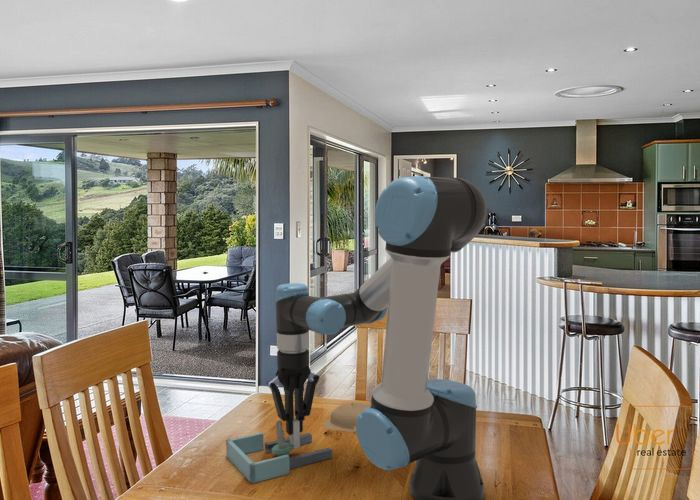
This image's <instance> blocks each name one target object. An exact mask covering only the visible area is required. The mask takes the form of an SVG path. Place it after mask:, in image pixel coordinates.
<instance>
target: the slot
mask: <svg viewBox="0 0 700 500" xmlns="http://www.w3.org/2000/svg"><path fill="white" fill-rule="evenodd" d="M284 438H285V439H284V440H285V443H290V436H289V437H284ZM312 443H313V434H312V433H310V432H306V433H302V434H300V446H304V445H308V444H312ZM277 444H278V439H276V440H272V441H269V442H265V443H264V451H265V453H267V454H270V453H272V448H273V447H274V446H275V445H277ZM330 459H333V449H332V448H330V447H325V448H321V449H317V450H313V451H309V452H306V453H301V454H297V455H294V456H289V469H294V468H298V467H304V466H306V465H311V464H314V463H318V462H322V461H326V460H330Z"/></svg>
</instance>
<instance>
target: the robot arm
mask: <svg viewBox="0 0 700 500" xmlns="http://www.w3.org/2000/svg"><path fill="white" fill-rule="evenodd" d="M487 213H488V207H487V202H486V198H485V197H484V195H483V193H482V191H481V190H480V188H479V187H478V186H476V185H475V184H474V183H473V182H472V181H469V180H467V179H465V178H461V177H441V176H439V177H438V176H437V177H436V176H423V175H413V176H404V177H399V178H397V179H394V180H392V181H391V182H389V184H388V185H387V186H386V187H385V188H384V189H383V190H382V191H381V193H380V195H379V197H378V199H377V201H376V205H375V208H374V224H375V227H376V228H377V229H378V230H377V233H378V235H379V237H380V238H381V239H382V240H383V241H384V242H385V249H384V250H385V252H386V253H387V254H388V255H389V256H390V258H389V259H387V260H386V262H384V263H383V264H382V265H381V266H380V267H379V268H378V269H377V270H376V271H375V272H374V273H373V274H372V275H371V276H370V277H369V278H368V279H367V280H366V281H365V282H364V283H363V284H362V285H360V287H358V288H357V289H356V290H355V291H354V292H350V293H342V294H337V295H335V294H334V295H328V296H320V297H317V296H312V295H309V294H310V293H309V288H308V285H306V284H305V283H299V282H297V283H296V282H295V283H294V282H293V283H291V282H290V283H282V284H280V285H278V286H277V287H276V293H275V302H274V303H275V316H276V317H275V318H276V319H275V321H276V348H277V352H276V361H277V363H276V366H277V370H276V372H275V377H274V378H273V379H272V380H268V381H267V382H266V386H267V387H268V388H269V389H270V391H271V395H272V399H273V402H274V405H275V410H276V414H277V417H278V418H279V419H280V421H281V420H282V421H283V422H285V432H286V434H287V435H289V437H290V444H292V445H293V449H294V450H296V449H300V448H301V445H300V435H301V433H303V431H304V426H303V425H304V423H303V422H304V421H305V419H306V418H305V417H309V416H310V415H311V411H312V408H313V407H312V406H313V401H314V396H315V392H316V387H317V384H318V382H319V380H320V376H319V375H318V374H317V373H315V372H311V368H310V351H309V349H308V348H310V339H309V338H310V337H309V334H310V332H309V331H311V332H314V333H316V334H319V335H327V336H333V335H336V334H337V333H338V332H339V331H341V330H342V329H343V328H348V327H353V326H360V325H366V324H373V323H375V322H378V321H381V320H382V319H384V318H385V317H386V315H387V317H386V328H385V336H384V337H385V338H384V349H383V359H382V360H383V361H382V369H381V377H380V378H381V379H380V383H378V384H377V385H376V386H374V387H373V389H372V390H371V400H370V402H371V407H370V408H366V409H364V410H363V411H362V413H360V414H359V416H358V418H357V421H356V433H357V434H356V437H357V440H358V444H359V446H360V448H361V449H362V452H363V453H364V454H365V456H366V458H367V459H368V460H369V461H370V462H371V463H372V464H373V465H374V466H376V467H377V468H379V469H382V470H384V471H393V470H396V469H400V468H405V467H406V466H408V465H410V464H411V463H415V464H414V469H413V471H412V474H411V475H410V479H409V493H410V496H411V497H412V498H413V499H414V500H484V497H485V484H484V480H483V478H482V475H481V470H480V468H479V465H478V461H477V459H476V448H477V445H476V442H477V441H476V439H477V438H476V437H477V436H476V435H477V434H476V432H477V431H476V429H477V408H478V406H477V399H476V392H475V390H474V389H473V388H472V387H471V386H470V385H467V384H466V383H463V382H459V381H455V380H450V379H442V378H429V371H430V364H431V363H430V362H431V353H432V346H433V337H434V336H433V335H434V328H435V327H434V325H435V317H436V309H437V300H438V299H437V298H438V290H439V283H440V282H439V281H440V275H441V274H440V273H441V266H442V265H443V263H444V262H445V261H447V260H448V259H449V258H450V257H451V253H453V254H454V253H457V252H459V251H461V250H462V249H463V248H464V247H466V246H467V245H468V244H469V243H470V242H471V241H472V240H473V239H475V238H476V237H477V235H478V234H479V233H480V232H481V231H482V228H483V227H484V226H485V222H486V219H487ZM280 384H281V386H283V392H284V402H283V399H282V395H281V391H280V389H279V388H280ZM305 384H306V386H305Z"/></svg>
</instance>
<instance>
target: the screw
mask: <svg viewBox="0 0 700 500" xmlns="http://www.w3.org/2000/svg"><path fill="white" fill-rule="evenodd" d="M275 427H276V437H277V439H276V440H278V444H277V445H275V446H274V447H273V448H272V452H271V453H272V454H274V455H276V457H279V456H283V455H289V456H290V452H291V451H293V449H294V448H293V445H292V444H290V443H285V440H284V439H285V438H286V437H285V432H284V430H283V424H282V421H281V420H277V421H276V422H275Z"/></svg>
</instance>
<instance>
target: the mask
mask: <svg viewBox="0 0 700 500" xmlns="http://www.w3.org/2000/svg"><path fill="white" fill-rule="evenodd" d="M370 407H371V401H370V402H367V403H364V402H361V401H352V402H351V403H348V402H347V403H345V404H340V405H339V406H337V407H336V408H334V409H332V412H331V413H330V418H327V419H326V420H325V421H324V422H323V424H322V425H323V427H322V428H325V429H328V430H335V431H336V430H337V431H341V432H342V431H343V432H349V433H351V434H356V435H357V433H356V421H357V418H358V416H359V414H360V413H362V411H363V410H364V409H366V408H370Z"/></svg>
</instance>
